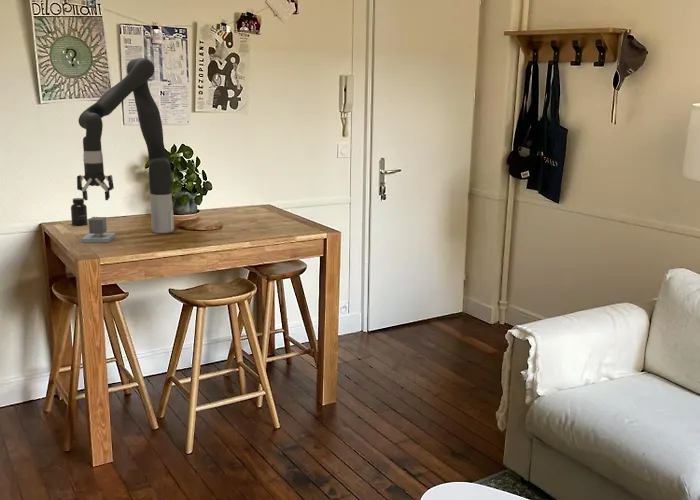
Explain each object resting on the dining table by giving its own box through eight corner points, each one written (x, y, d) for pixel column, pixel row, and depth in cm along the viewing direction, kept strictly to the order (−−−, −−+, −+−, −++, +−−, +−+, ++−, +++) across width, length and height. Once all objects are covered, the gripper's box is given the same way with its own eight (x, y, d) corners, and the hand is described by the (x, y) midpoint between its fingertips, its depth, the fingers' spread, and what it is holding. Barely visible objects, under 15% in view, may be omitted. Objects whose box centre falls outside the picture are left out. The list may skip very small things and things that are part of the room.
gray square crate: (106, 230, 302) (106, 217, 300) (103, 233, 297) (102, 219, 295) (93, 230, 302) (92, 216, 300) (89, 233, 296) (88, 219, 295)
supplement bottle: (82, 226, 322) (80, 200, 319) (68, 225, 324) (66, 199, 321) (90, 223, 329) (88, 198, 326) (77, 222, 330) (75, 197, 327)
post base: (115, 236, 306) (114, 217, 303) (108, 242, 295) (107, 222, 293) (89, 236, 305) (88, 216, 303) (81, 242, 294) (80, 222, 292)
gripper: (113, 160, 295) (116, 198, 300) (78, 160, 295) (81, 198, 299) (108, 162, 288) (111, 201, 292) (72, 162, 287) (76, 201, 291)
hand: (96, 200), depth 295 cm, fingers open, 8 cm apart
